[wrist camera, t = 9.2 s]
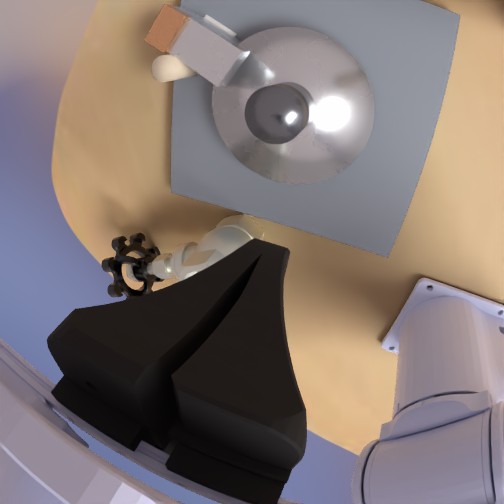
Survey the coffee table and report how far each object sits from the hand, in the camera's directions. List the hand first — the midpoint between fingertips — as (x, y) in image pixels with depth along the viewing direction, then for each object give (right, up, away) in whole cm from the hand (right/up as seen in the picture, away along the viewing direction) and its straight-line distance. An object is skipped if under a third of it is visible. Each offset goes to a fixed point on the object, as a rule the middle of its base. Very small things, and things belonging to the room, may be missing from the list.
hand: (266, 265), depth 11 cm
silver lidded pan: (0, +10, +5) cm, 11 cm away
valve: (-5, +1, +15) cm, 16 cm away
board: (+2, +9, +6) cm, 11 cm away
